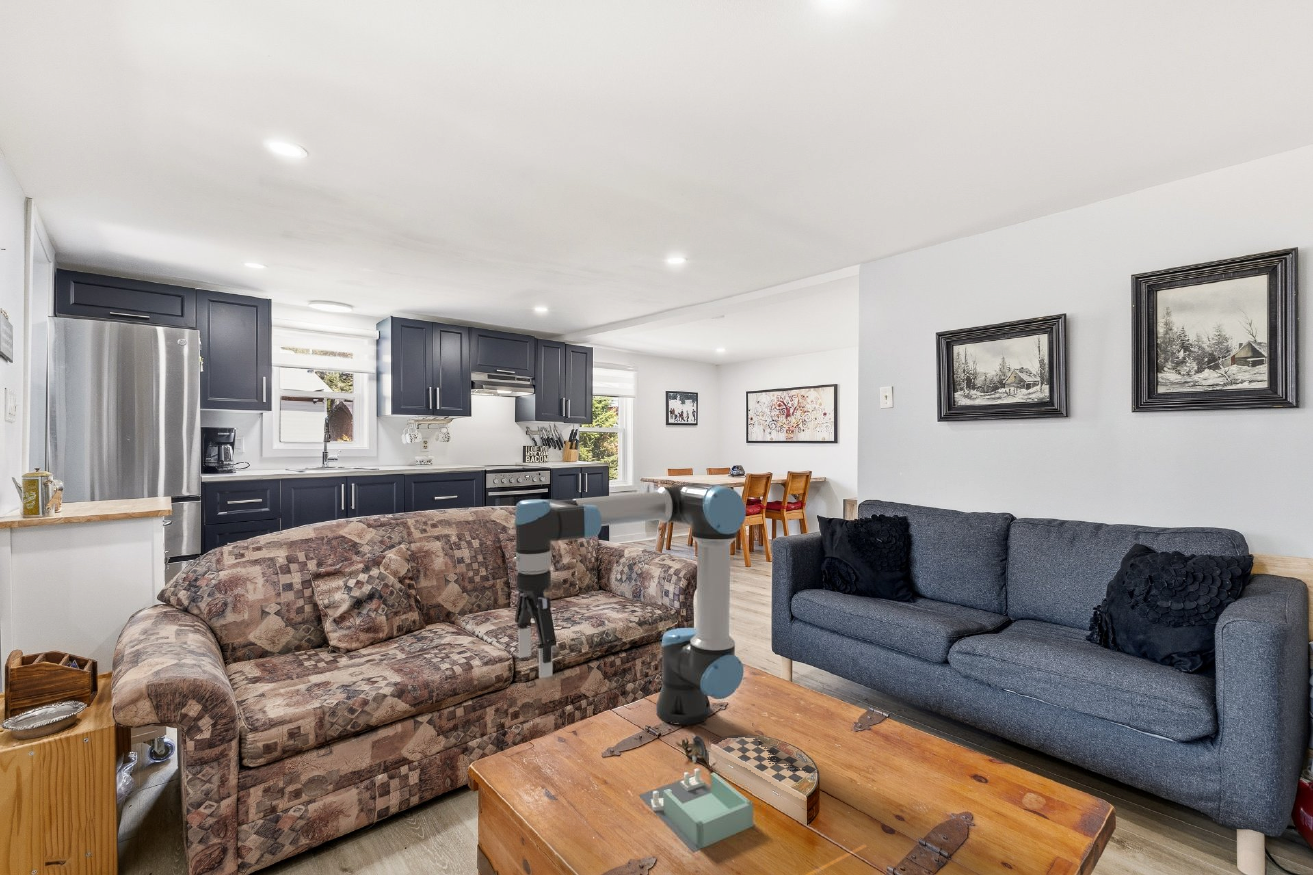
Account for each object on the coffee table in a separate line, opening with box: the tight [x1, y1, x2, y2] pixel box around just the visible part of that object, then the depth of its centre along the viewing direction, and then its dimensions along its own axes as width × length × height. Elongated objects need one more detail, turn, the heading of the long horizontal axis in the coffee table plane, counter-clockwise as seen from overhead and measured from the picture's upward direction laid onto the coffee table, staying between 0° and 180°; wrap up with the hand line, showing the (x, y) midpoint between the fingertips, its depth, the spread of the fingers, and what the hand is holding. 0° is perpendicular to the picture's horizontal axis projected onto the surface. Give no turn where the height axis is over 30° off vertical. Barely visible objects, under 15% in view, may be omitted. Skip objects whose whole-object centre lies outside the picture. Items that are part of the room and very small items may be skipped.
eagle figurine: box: [675, 733, 711, 768], centre depth 146 cm, size 8×7×9 cm
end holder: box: [663, 772, 754, 850], centre depth 124 cm, size 13×13×4 cm
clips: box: [651, 768, 705, 812], centre depth 132 cm, size 14×6×3 cm, turn 121°
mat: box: [638, 774, 756, 853], centre depth 127 cm, size 15×21×1 cm
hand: (534, 666), depth 135 cm, fingers open, 13 cm apart
